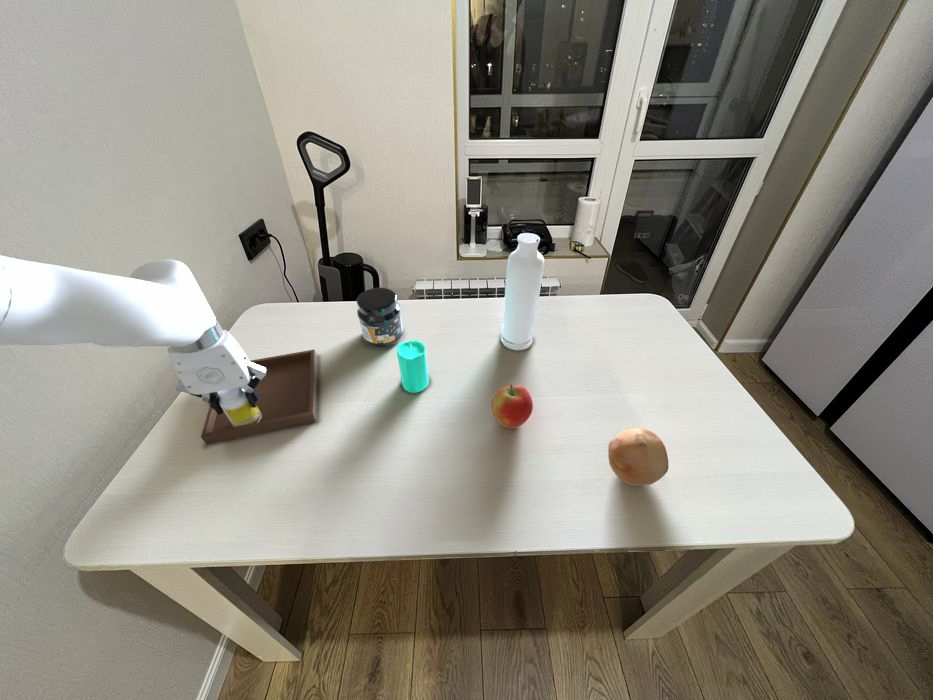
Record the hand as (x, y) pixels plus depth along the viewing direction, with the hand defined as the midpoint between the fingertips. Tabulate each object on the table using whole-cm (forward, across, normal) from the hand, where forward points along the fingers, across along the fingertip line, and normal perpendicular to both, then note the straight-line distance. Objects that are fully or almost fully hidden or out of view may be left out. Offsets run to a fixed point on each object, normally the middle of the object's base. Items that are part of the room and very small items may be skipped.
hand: (238, 405), depth 74 cm
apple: (+6, +52, -14) cm, 54 cm away
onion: (+6, +69, -31) cm, 76 cm away
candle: (+6, +35, +2) cm, 35 cm away
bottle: (+6, +63, +10) cm, 64 cm away
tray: (+5, +3, +7) cm, 9 cm away
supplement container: (+6, +30, +21) cm, 37 cm away
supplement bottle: (+5, 0, 0) cm, 5 cm away
